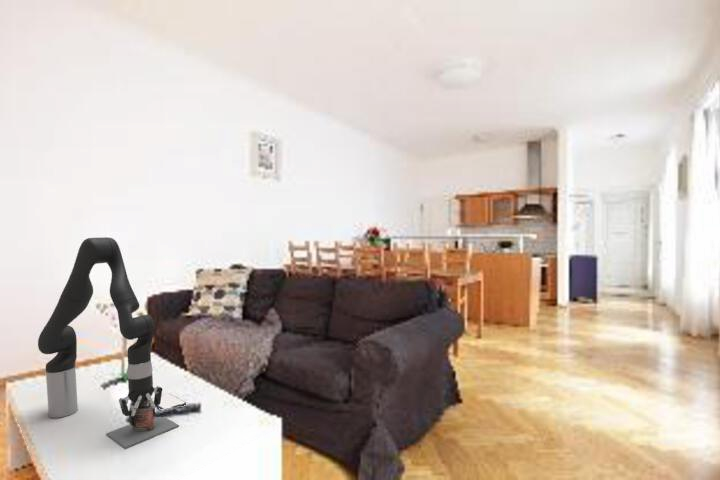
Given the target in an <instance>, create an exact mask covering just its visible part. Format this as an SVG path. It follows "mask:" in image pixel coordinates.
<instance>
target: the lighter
mask: <svg viewBox="0 0 720 480" xmlns="http://www.w3.org/2000/svg"><path fill="white" fill-rule="evenodd" d="M149 404H151V403H150V400H146V401H145V402H144V403H142V404H140V405H139V406H138V409H137V410H136V412H135V415H136V426H132V430H139V431H146V430H152V429H154V428H155V427H154V422H153V406H150V405H149Z"/></svg>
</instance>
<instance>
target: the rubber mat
mask: <svg viewBox="0 0 720 480" xmlns="http://www.w3.org/2000/svg"><path fill="white" fill-rule="evenodd" d="M153 422H154V427H155V428H154V429H152V430H146V431H139V430H132V425H131V424H130V423H129V424H128V425H124V426H122V427H119V428H115V429H114V430H112V431H109V432H105V433H106V434H105V435H106V436H107V437H108V438H109V439H111V440H112V441H114V443H116V444H118V445H119V446H120V447H121V448H123V449H124V450H126V449H129V448H132V447H134V446H136V445H138V444H141V443H143V442H146V441H148V440H151V439H153V438H156V437H158V436H161V435H163V434H166V433H168V432H170V431H172V430H175V429H177V428H179V427H180V424H178V423H176V422H174V421H173V420H170V419H169V418H167V417H166V416H164V417H158V418H154V419H153ZM162 433H163V434H162ZM157 435H158V436H157ZM155 436H156V437H155ZM150 438H151V439H150Z"/></svg>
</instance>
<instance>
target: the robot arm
mask: <svg viewBox="0 0 720 480" xmlns="http://www.w3.org/2000/svg"><path fill="white" fill-rule="evenodd" d="M75 257H76V258H75V261H74V263H73V268H72V270H71V272H70V275H69V277H68V280H67V282H66V284H65V286H64V288H63V290H62V292H61V295H60V297H59V299H58V301H57V304H56V306H55V308H54V310H53V312H52V314H51V316H50V318H49V319H48V320H47V322H46V324H45V325H44V327H43V328H42V330H41V332H40V334H39V336H38V340H37V346H38V351H40V353H42V354H43V355H52V354H56V355H55V356H54V357H53V358H52V359H51V360H50V361H48V362H47V363H46V364H45V377H46V378H45V379H46V394H47V408H48V409H47V411H48V413H47V414H48V418H50V419H57V418H63V417H68V416H70V415H73V414H74V413H77V412H78V410H79V409H78V408H79V405H78V390H77V374H76V373H77V372H76V361H77V354H78V353H77V350H78V348H77V347H78V346H77V343H78V341H77V340H78V339H77V333H76V331H75V329H74V328H73V326H71V325H70V323H72V322H74V320H76V319H77V317H80V315H81V314H82V313H83V312H84V311H85V310H86V309H87V307H88V306H89V303H90V302H91V299H92V297H93V294H94V285H93V284H92V281H91V278H90V275H91V271H92V269H93V267H94V266H95V265H96V264H107V265H108V267H109V269H110V271H111V278H110V279H111V280H110V284H109V297H110V299H111V301H112V302H113V305H114V307H115V310H116V313H117V317H118V325H119V326H118V327H119V331H120V334H121V336H122V337H123V338H124V339H126V340H130V341H131V340H136V341H135V342H134V343H133V344H131V345H130V346H128V348H127V383H128V387H127V388H128V394H127V396H125V397H123V398H122V397H121V398H119V399H118V402H119V406H120V409H121V413H122V415H124V416H126V417H128V419H129V421H128V423H129V425H130V424H131V425H132V426H136V415H135V412H136V410H137V409H138V406H139V405H140V404H142V403H144V402H145V401H146V400H150V403H151V404H149V405H150V406H153V419H154V417H155V415H156V406H157V405H159V404H160V402H161V396H162V394H163V388H162V387H161V386H159V385H157V386H156V387H154V382H153V381H154V378H153V363H152V354H151V347H152V343H153V338H154V334H155V327H156V325H155V324H156V323H155V321H154V319H153V317H152V316H150V315H147V314H144V315H139V316H135V317H133V313H135V312H137V311H138V310H139V309H140V302H139V300H138V299H137V295H136V294H135V292H134V290H133V288H132V286H131V283H130V281H129V277H128V274H127V270H126V266H125V262H124V259H123V256H122V252H121V248H120V246H119V243H118V242H117V240H115V239H114V238H113V237H106V236H105V237H104V236H103V237H89V238H86V239H84V240H83V241H82V243H81V244H80V246H79V248H78V251H77V255H76V256H75ZM153 394H154V402H153V400H152V399H153V397H152V395H153ZM129 401H130V403H129ZM128 403H129V408H128Z"/></svg>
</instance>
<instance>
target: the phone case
mask: <svg viewBox="0 0 720 480" xmlns="http://www.w3.org/2000/svg"><path fill="white" fill-rule="evenodd" d="M152 400H153V402H154V398H153V397H152ZM184 405H186V406H187V402H186V401H184V400H182V399H181V398H179V397H177V396H175V395H173V394H172V393H166V394H163V395H161V402H160V404H159V405H157V406H156V407H157V408H156V407H155V408H156V409H158V408H160V409H166V408H171V407H177V406H184Z"/></svg>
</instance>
